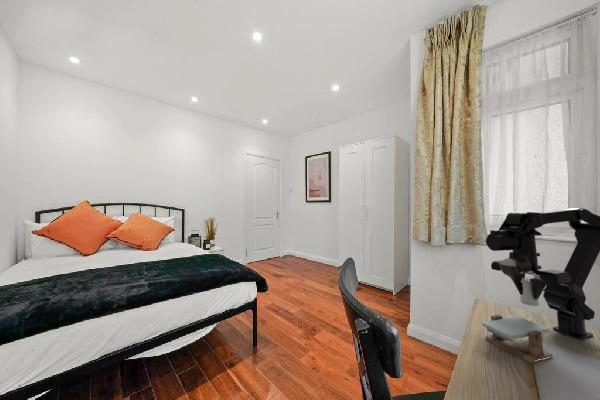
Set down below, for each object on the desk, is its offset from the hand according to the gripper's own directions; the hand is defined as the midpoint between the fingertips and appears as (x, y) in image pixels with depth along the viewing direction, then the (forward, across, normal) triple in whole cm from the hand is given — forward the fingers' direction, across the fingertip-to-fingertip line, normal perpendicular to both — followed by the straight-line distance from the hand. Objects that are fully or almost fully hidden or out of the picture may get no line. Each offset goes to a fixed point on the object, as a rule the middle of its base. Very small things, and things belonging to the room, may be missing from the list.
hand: (529, 297), depth 74 cm
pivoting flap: (+7, +4, -12) cm, 15 cm away
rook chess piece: (+2, 0, 0) cm, 2 cm away
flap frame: (+12, +4, -12) cm, 18 cm away
